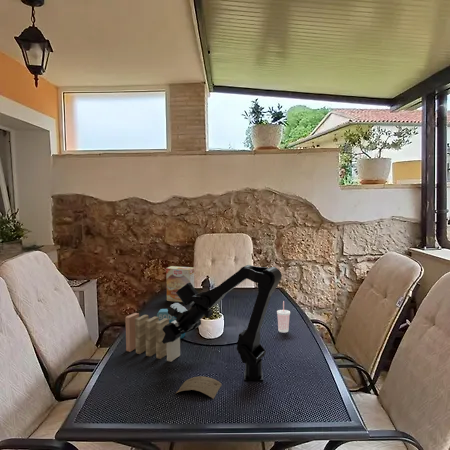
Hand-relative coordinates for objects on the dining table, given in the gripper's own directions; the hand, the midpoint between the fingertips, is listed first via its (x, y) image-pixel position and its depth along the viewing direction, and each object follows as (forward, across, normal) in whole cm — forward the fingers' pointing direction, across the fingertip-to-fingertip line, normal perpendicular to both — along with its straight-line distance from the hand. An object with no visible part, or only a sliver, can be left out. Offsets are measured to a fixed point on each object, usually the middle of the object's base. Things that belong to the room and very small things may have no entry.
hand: (170, 338), depth 151 cm
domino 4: (+4, 0, +6) cm, 8 cm away
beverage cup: (-15, -47, +26) cm, 56 cm away
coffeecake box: (+34, -67, -23) cm, 79 cm away
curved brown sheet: (-10, +16, +22) cm, 29 cm away
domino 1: (+15, 0, -4) cm, 16 cm away
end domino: (+18, 0, -8) cm, 20 cm away
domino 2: (+11, 0, -1) cm, 11 cm away
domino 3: (+8, 0, +3) cm, 8 cm away
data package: (+14, -18, -3) cm, 23 cm away
